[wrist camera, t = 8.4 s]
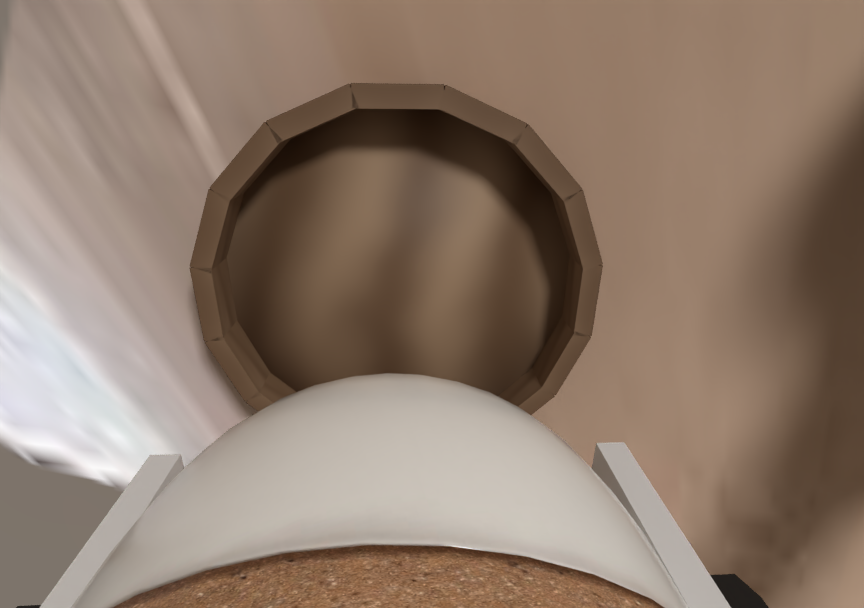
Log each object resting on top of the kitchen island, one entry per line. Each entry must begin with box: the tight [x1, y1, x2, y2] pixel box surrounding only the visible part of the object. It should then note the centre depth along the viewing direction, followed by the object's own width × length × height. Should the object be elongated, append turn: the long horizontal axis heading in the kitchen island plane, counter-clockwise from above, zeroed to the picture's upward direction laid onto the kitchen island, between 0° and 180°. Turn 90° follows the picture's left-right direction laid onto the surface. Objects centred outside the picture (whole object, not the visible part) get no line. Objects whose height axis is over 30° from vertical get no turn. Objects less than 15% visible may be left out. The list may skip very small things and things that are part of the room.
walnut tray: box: [190, 83, 603, 415], centre depth 26 cm, size 21×21×3 cm
